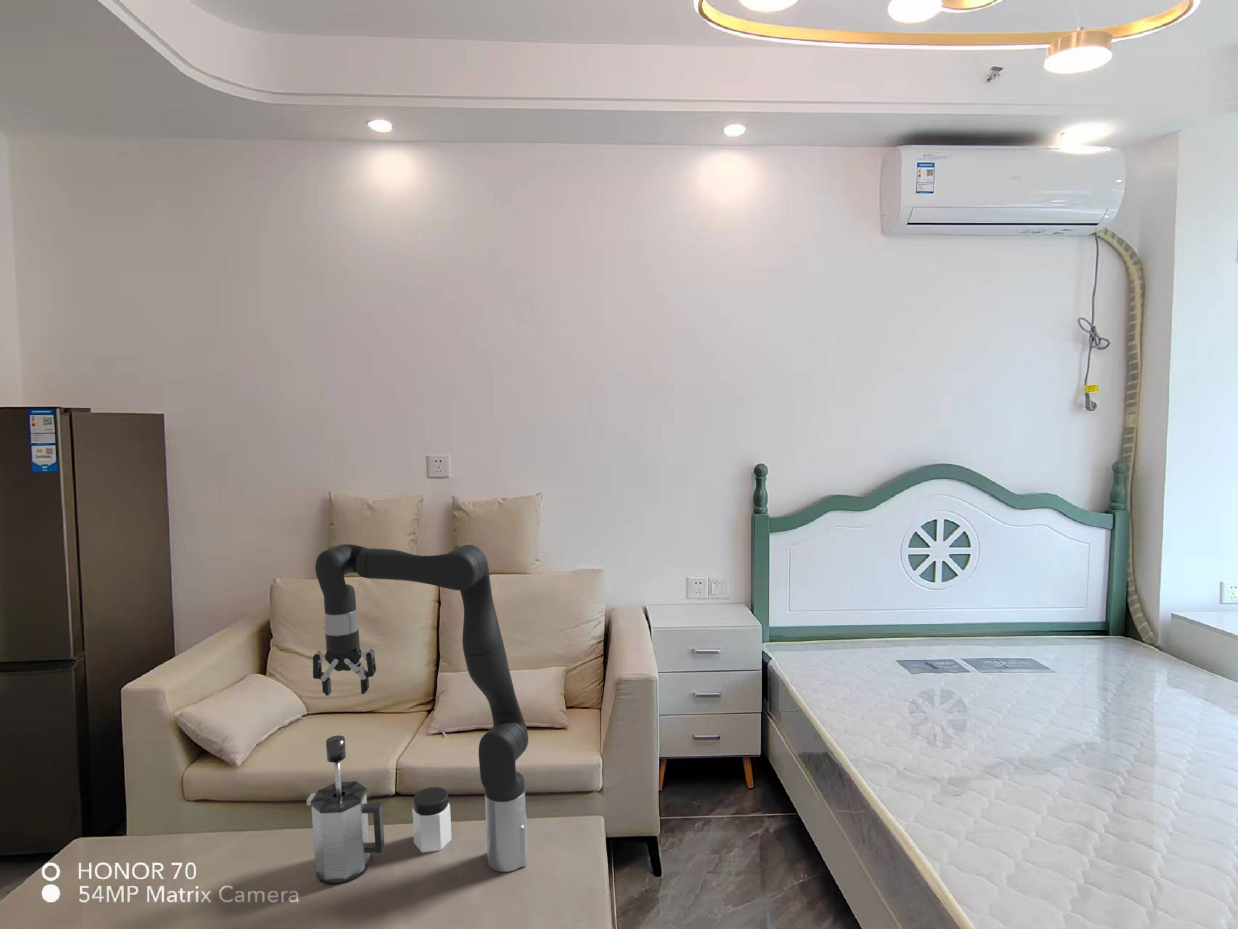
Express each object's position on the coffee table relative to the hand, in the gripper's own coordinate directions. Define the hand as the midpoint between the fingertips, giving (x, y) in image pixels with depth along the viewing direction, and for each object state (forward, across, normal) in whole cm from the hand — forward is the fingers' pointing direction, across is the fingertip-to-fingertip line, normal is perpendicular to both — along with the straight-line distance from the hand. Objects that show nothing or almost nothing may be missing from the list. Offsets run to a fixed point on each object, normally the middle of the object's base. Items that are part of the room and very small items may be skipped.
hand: (346, 693), depth 177 cm
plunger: (+27, 0, +11) cm, 29 cm away
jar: (+38, -19, +3) cm, 43 cm away
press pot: (+38, -2, +11) cm, 39 cm away
